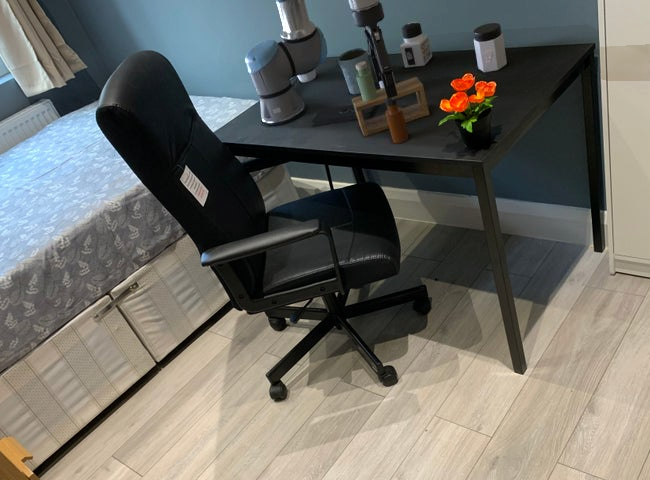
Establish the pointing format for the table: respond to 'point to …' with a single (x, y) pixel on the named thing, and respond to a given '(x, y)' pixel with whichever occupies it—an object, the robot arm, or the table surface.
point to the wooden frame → (381, 121)
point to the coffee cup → (307, 75)
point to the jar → (489, 47)
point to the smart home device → (340, 114)
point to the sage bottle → (365, 82)
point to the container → (415, 46)
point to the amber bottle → (396, 121)
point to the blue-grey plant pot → (353, 66)
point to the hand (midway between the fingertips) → (387, 88)
